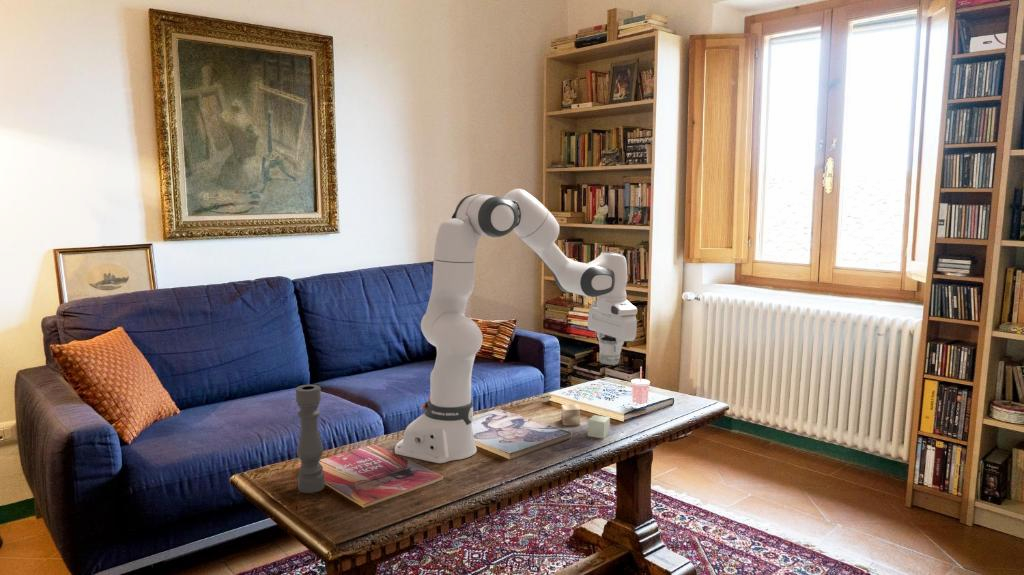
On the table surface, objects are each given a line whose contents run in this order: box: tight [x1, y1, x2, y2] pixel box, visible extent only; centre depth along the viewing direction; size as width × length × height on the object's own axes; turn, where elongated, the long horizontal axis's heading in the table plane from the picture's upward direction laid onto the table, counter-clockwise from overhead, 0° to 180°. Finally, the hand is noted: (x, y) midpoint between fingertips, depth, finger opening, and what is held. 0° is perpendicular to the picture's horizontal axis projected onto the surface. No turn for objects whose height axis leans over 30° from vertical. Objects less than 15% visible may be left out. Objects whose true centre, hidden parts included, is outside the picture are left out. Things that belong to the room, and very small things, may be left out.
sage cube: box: [587, 414, 611, 439], centre depth 213 cm, size 5×5×5 cm
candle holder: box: [295, 384, 326, 494], centre depth 173 cm, size 6×6×25 cm
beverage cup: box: [630, 366, 651, 404], centre depth 237 cm, size 6×6×14 cm
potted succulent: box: [598, 335, 621, 366], centre depth 221 cm, size 6×6×8 cm
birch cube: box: [560, 403, 581, 426], centre depth 223 cm, size 5×5×5 cm
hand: (610, 349), depth 220 cm, fingers closed on potted succulent, 6 cm apart
